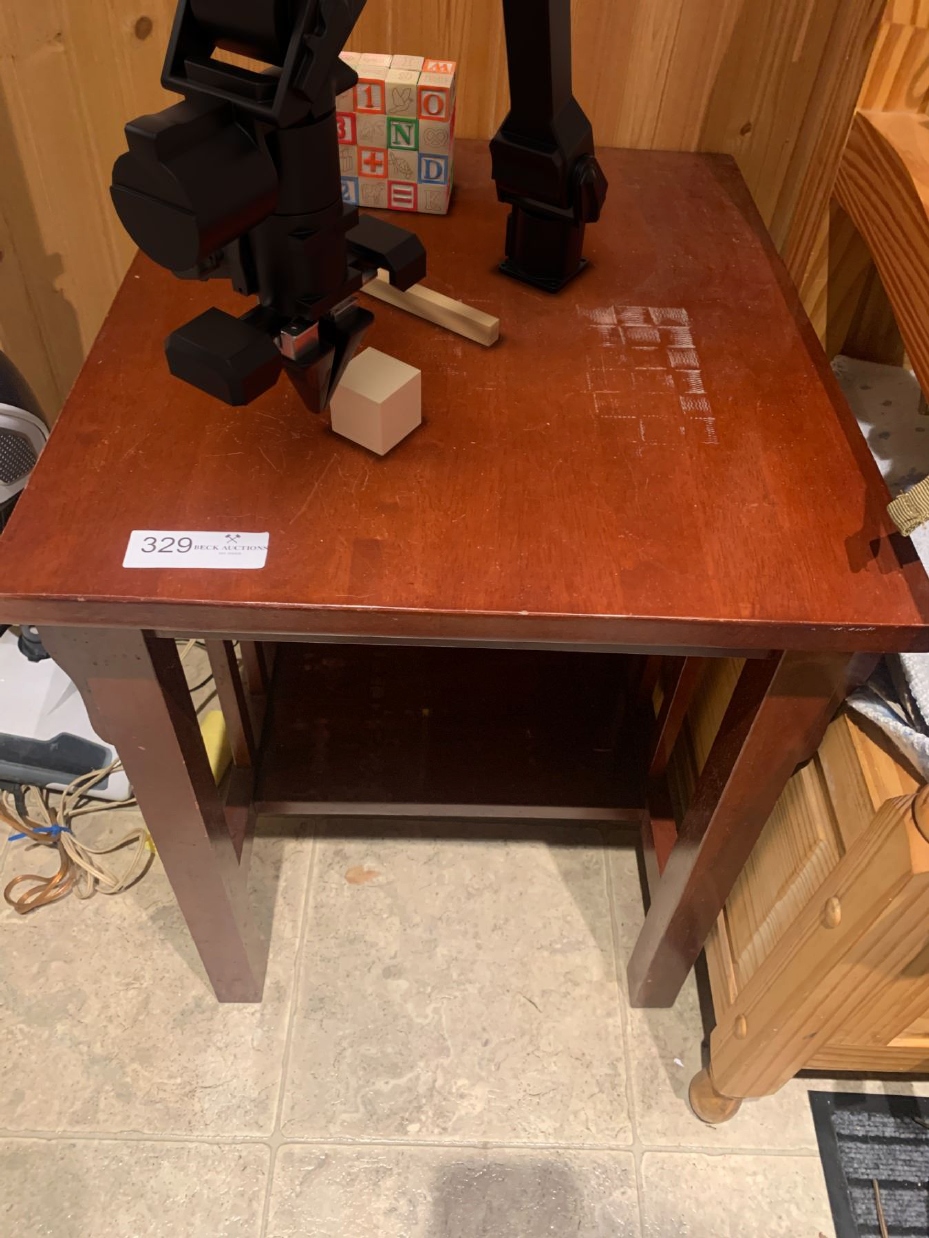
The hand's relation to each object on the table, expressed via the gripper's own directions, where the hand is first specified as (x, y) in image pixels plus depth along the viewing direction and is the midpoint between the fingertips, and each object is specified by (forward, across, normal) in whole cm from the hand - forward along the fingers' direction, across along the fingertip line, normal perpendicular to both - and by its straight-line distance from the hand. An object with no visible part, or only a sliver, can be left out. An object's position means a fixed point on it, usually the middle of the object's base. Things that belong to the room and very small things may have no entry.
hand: (316, 410), depth 64 cm
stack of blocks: (+6, -34, -26) cm, 43 cm away
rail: (+6, -21, -8) cm, 24 cm away
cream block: (+6, -6, 0) cm, 9 cm away
